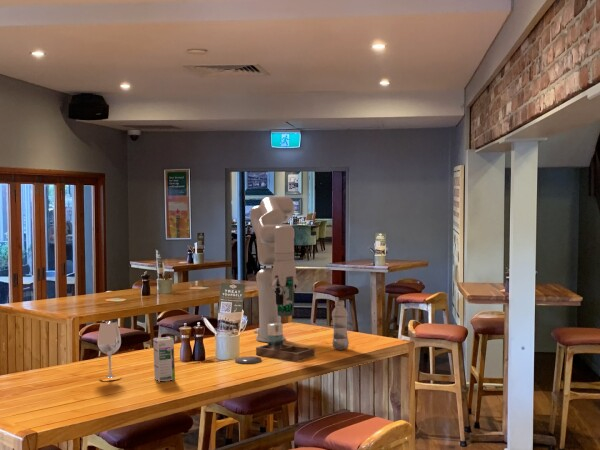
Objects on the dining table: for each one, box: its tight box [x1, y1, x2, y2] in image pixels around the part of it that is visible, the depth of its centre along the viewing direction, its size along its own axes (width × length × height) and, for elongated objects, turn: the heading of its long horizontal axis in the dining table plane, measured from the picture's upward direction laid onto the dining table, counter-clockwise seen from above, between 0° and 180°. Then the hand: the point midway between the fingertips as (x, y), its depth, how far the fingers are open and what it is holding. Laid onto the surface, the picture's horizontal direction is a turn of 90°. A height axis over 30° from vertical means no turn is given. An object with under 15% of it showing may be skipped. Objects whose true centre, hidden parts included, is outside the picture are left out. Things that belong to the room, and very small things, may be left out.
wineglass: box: [97, 320, 122, 378], centre depth 237 cm, size 8×8×20 cm
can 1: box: [267, 322, 284, 350], centre depth 271 cm, size 6×6×12 cm
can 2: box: [277, 276, 295, 317], centre depth 263 cm, size 6×6×15 cm
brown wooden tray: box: [255, 343, 316, 363], centre depth 268 cm, size 21×11×3 cm, turn 52°
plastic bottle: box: [331, 299, 350, 351], centre depth 277 cm, size 6×7×20 cm
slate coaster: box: [234, 356, 262, 365], centre depth 260 cm, size 10×10×1 cm
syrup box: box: [152, 336, 176, 383], centre depth 234 cm, size 6×6×14 cm
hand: (285, 302), depth 263 cm, fingers closed on can 2, 6 cm apart
